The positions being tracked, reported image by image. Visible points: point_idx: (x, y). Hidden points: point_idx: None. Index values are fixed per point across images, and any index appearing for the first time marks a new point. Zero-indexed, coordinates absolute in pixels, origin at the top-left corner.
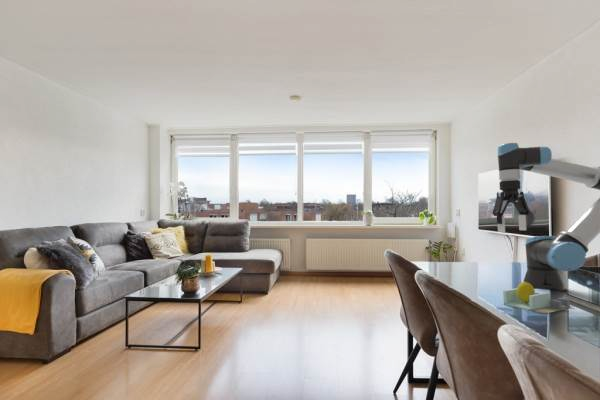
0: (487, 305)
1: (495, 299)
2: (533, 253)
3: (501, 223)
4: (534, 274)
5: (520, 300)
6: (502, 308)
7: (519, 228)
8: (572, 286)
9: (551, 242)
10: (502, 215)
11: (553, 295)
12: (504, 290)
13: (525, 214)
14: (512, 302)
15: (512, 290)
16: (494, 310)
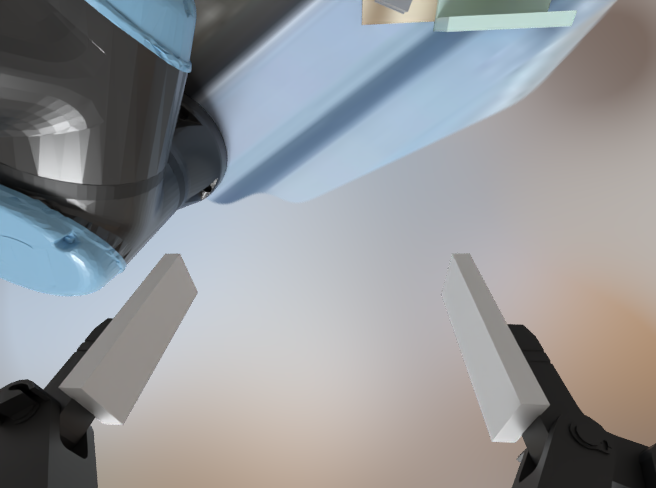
0: (538, 81)
1: (435, 124)
2: (155, 195)
3: (509, 328)
4: (192, 163)
5: (462, 14)
6: None
7: (190, 300)
8: None
9: (68, 84)
10: (560, 420)
11: (222, 57)
12: (565, 23)
13: (51, 396)
14: (519, 6)
15: (526, 13)
16: (601, 14)
